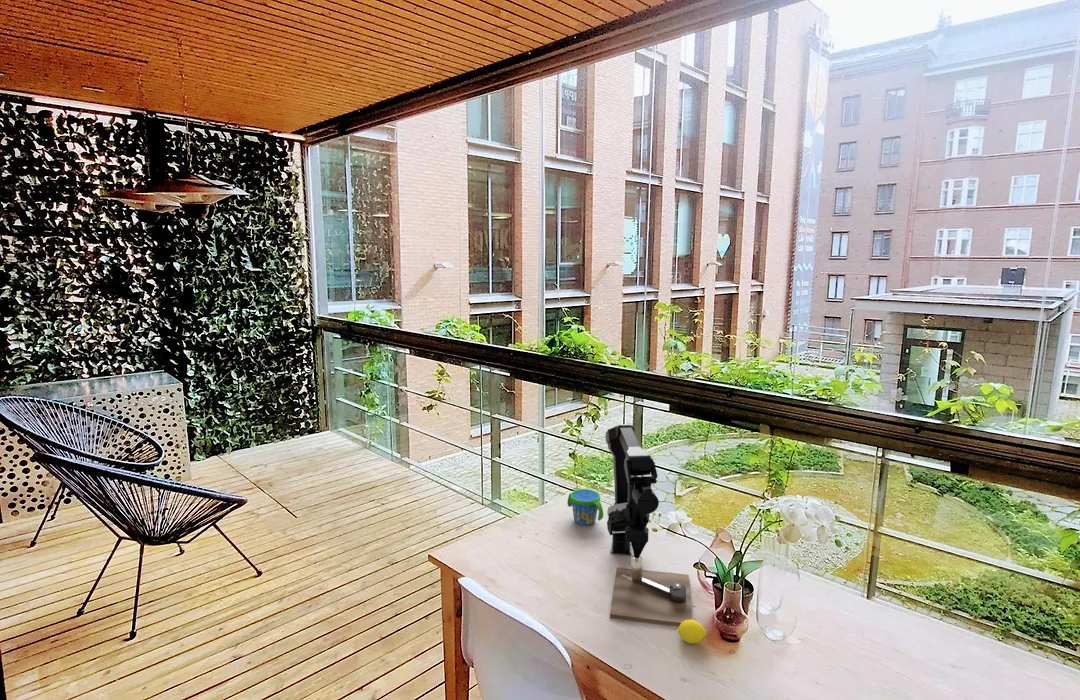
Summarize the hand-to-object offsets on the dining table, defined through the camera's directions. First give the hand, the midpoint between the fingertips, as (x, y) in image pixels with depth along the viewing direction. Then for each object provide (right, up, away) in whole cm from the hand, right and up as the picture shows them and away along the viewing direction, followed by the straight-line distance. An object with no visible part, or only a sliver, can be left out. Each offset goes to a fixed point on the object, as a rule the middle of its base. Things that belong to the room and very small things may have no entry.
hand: (637, 549), depth 161 cm
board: (+3, -12, -4) cm, 13 cm away
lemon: (+10, -15, -22) cm, 28 cm away
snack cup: (-12, -5, +41) cm, 43 cm away
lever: (+5, -10, -3) cm, 12 cm away
